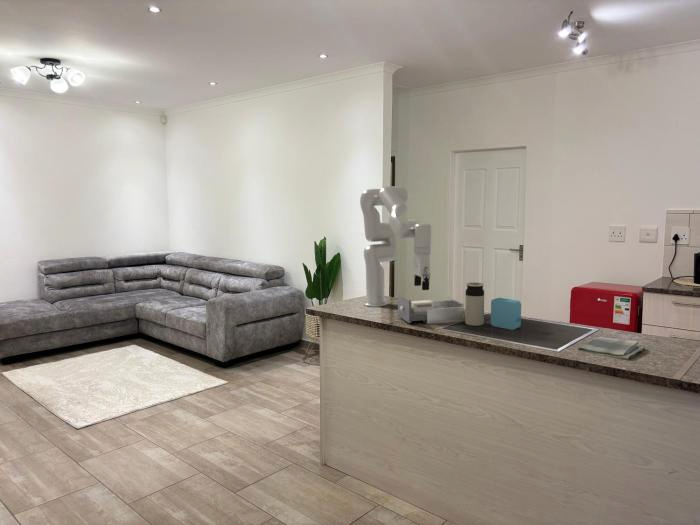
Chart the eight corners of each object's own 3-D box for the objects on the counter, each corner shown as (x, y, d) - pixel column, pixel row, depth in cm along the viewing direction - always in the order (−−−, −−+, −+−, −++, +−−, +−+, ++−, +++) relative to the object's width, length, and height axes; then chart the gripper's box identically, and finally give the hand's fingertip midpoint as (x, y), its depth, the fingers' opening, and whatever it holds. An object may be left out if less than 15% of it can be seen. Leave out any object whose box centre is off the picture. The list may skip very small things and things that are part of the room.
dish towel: (576, 351, 196) (576, 343, 195) (595, 341, 208) (596, 333, 207) (630, 362, 182) (630, 353, 182) (647, 351, 195) (648, 342, 194)
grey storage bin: (414, 316, 253) (414, 299, 252) (448, 313, 257) (448, 297, 256) (427, 324, 237) (427, 306, 236) (463, 321, 241) (463, 303, 240)
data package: (520, 328, 227) (521, 300, 225) (515, 330, 224) (516, 302, 222) (495, 323, 236) (496, 297, 234) (490, 325, 233) (490, 298, 231)
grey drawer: (395, 315, 250) (395, 294, 249) (432, 313, 254) (432, 292, 253) (406, 323, 235) (406, 300, 234) (445, 320, 240) (445, 298, 238)
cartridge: (410, 314, 246) (410, 301, 246) (430, 312, 248) (430, 299, 248) (413, 316, 241) (413, 303, 241) (434, 315, 244) (434, 302, 243)
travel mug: (471, 326, 231) (471, 285, 229) (461, 322, 239) (462, 283, 236) (487, 325, 234) (487, 284, 231) (477, 321, 241) (477, 281, 239)
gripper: (407, 248, 249) (407, 284, 251) (421, 253, 232) (420, 292, 235) (423, 247, 250) (422, 283, 253) (437, 253, 234) (436, 291, 237)
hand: (421, 287), depth 244 cm, fingers open, 9 cm apart
